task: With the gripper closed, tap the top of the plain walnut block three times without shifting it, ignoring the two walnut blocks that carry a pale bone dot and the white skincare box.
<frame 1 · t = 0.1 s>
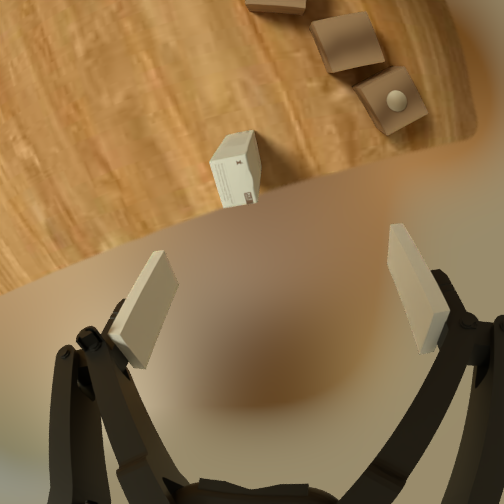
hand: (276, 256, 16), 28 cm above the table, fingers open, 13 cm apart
skincare box: (245, 151, 41), on the table
plain walnut block: (342, 44, 30), on the table
dotted walnut block B: (384, 96, 34), on the table
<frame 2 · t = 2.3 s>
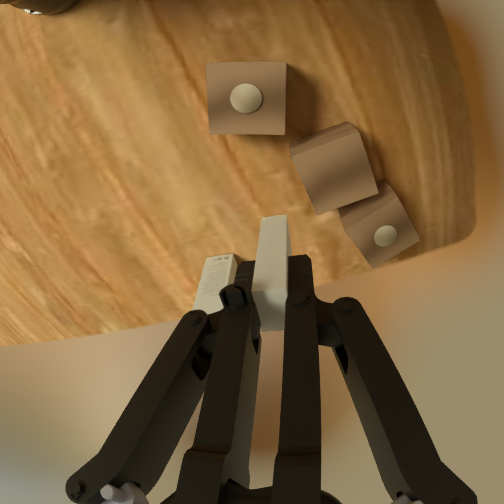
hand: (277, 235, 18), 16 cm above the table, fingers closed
skincare box: (227, 270, 43), on the table
dotted walnut block A: (251, 92, 27), on the table
plain walnut block: (329, 158, 31), on the table
dotted walnut block B: (374, 213, 35), on the table
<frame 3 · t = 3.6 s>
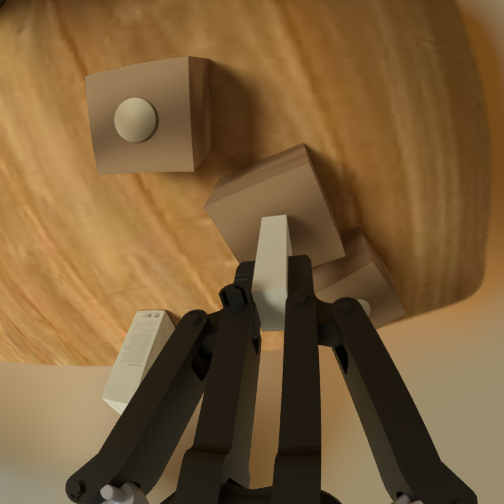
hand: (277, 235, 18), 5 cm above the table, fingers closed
skincare box: (163, 325, 34), on the table
dotted walnut block A: (165, 107, 19), on the table
plain walnut block: (279, 199, 23), on the table
dotted walnut block B: (345, 271, 26), on the table
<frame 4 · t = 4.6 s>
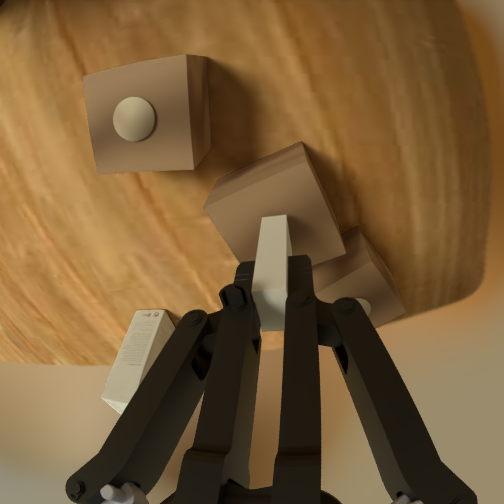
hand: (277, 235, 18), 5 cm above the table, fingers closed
skincare box: (162, 325, 34), on the table
dotted walnut block A: (164, 106, 19), on the table
plain walnut block: (278, 197, 23), on the table
dotted walnut block B: (344, 270, 26), on the table
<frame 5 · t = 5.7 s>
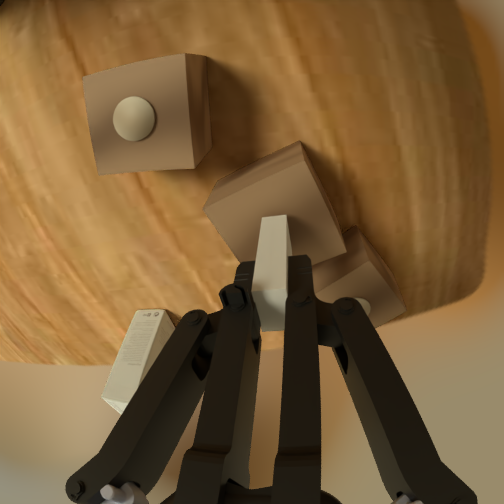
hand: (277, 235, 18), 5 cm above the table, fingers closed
skincare box: (162, 325, 34), on the table
dotted walnut block A: (164, 106, 19), on the table
plain walnut block: (278, 197, 23), on the table
dotted walnut block B: (344, 270, 26), on the table
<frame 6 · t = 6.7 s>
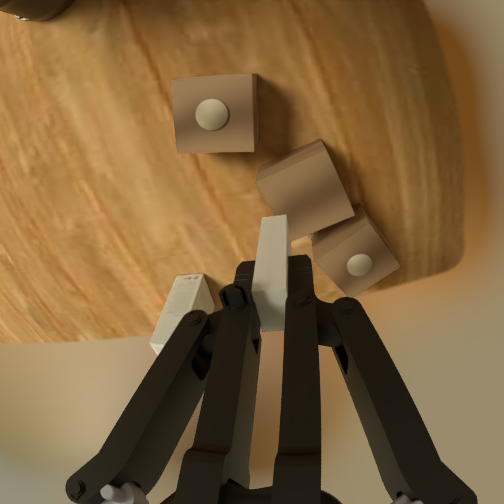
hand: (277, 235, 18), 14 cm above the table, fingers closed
skincare box: (197, 289, 41), on the table
dotted walnut block A: (223, 108, 27), on the table
plain walnut block: (304, 180, 30), on the table
dotted walnut block B: (351, 239, 34), on the table
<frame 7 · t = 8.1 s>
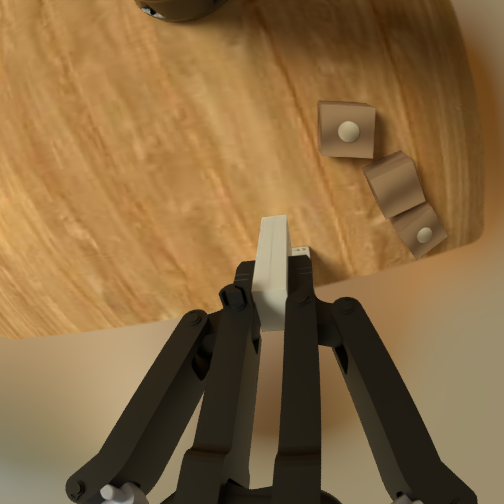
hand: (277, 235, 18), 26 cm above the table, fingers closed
dotted walnut block A: (341, 124, 38), on the table
plain walnut block: (388, 177, 41), on the table
dotted walnut block B: (413, 219, 45), on the table
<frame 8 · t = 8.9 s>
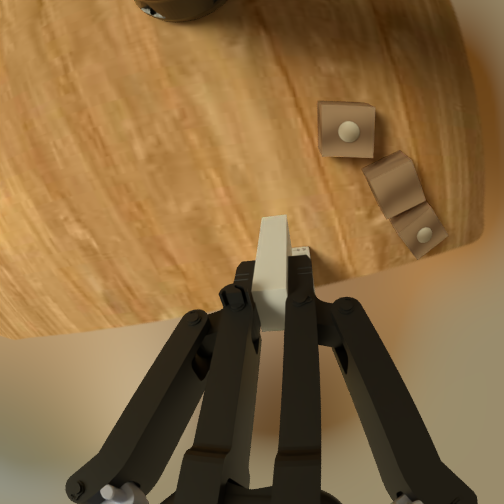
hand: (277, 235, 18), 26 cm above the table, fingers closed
dotted walnut block A: (341, 124, 38), on the table
plain walnut block: (388, 177, 41), on the table
dotted walnut block B: (413, 219, 45), on the table
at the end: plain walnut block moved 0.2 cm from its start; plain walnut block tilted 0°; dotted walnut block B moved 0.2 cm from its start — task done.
